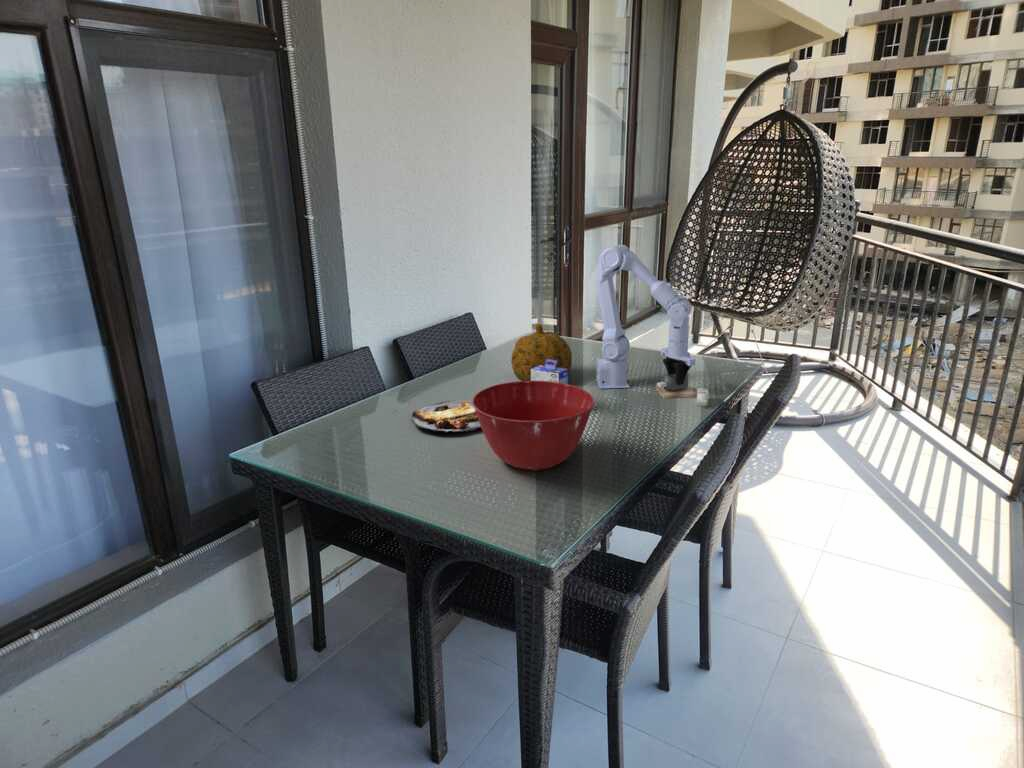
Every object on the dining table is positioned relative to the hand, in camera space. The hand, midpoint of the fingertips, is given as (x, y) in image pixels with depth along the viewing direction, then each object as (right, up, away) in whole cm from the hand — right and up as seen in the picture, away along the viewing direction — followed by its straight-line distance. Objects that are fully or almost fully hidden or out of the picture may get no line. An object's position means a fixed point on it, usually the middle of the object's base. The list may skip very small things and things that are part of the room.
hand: (676, 382), depth 198 cm
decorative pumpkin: (-41, +1, +17) cm, 44 cm away
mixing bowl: (-45, -19, -43) cm, 65 cm away
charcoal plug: (-1, -2, 0) cm, 2 cm away
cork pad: (0, -3, +1) cm, 3 cm away
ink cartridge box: (-40, -8, -10) cm, 41 cm away
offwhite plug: (+5, -6, -8) cm, 12 cm away
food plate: (-66, -11, -17) cm, 69 cm away
